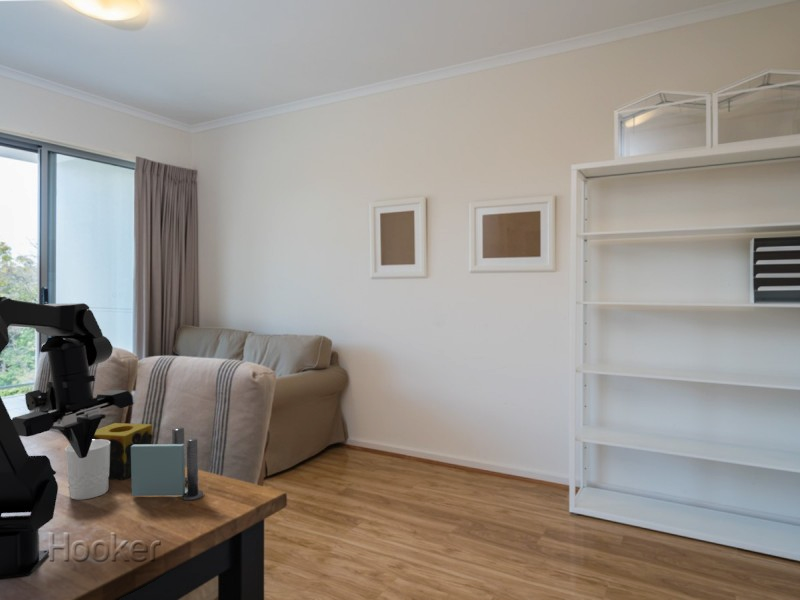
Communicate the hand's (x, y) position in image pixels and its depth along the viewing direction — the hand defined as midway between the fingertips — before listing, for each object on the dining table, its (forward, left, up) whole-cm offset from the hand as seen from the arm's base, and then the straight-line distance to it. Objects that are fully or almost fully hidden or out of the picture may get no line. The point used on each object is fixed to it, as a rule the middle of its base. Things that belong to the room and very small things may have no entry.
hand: (82, 457), depth 91 cm
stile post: (+15, -13, -11) cm, 23 cm away
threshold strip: (+12, -13, -11) cm, 21 cm away
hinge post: (+6, -17, -11) cm, 22 cm away
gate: (+8, -11, -11) cm, 17 cm away
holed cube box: (+25, +2, -12) cm, 28 cm away
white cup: (+13, +4, -12) cm, 18 cm away
